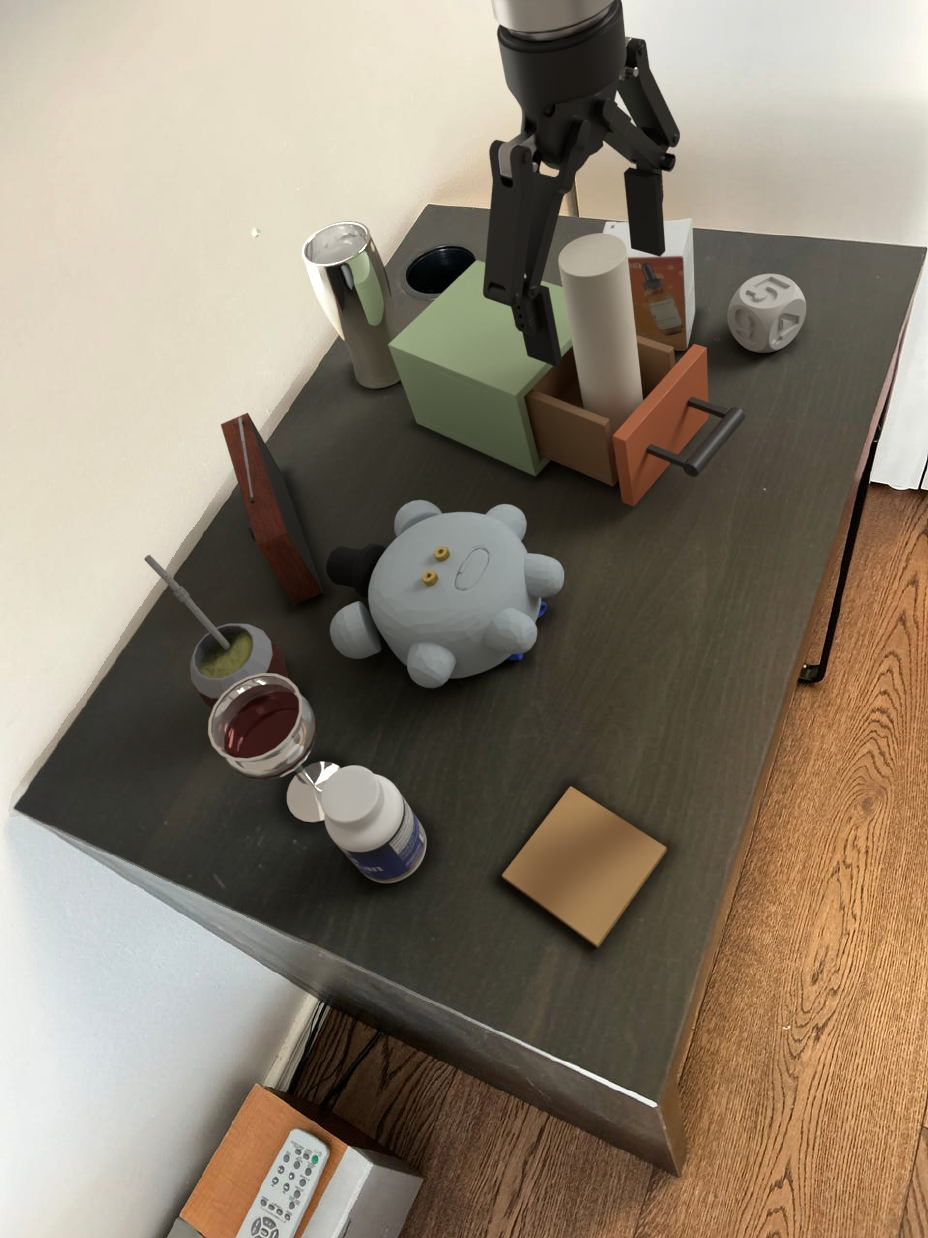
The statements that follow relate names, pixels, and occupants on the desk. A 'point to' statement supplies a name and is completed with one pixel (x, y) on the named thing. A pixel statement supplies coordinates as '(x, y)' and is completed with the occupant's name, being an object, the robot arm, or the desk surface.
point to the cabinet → (475, 370)
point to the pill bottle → (372, 824)
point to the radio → (270, 510)
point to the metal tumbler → (355, 297)
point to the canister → (602, 325)
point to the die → (766, 313)
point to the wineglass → (271, 738)
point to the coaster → (584, 865)
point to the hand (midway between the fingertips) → (598, 302)
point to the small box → (662, 284)
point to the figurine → (445, 592)
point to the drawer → (631, 421)
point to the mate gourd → (225, 650)
